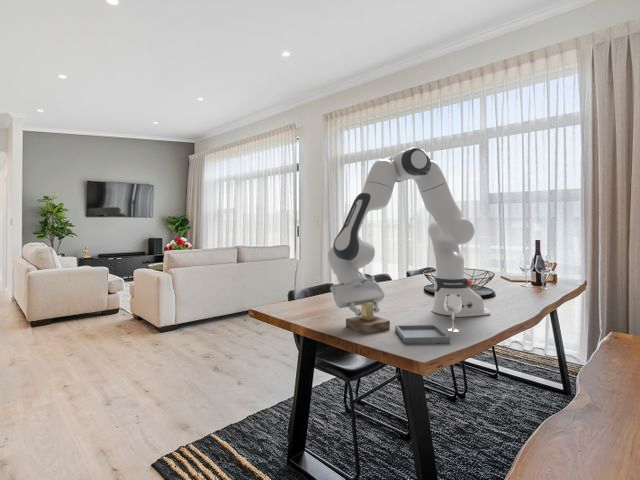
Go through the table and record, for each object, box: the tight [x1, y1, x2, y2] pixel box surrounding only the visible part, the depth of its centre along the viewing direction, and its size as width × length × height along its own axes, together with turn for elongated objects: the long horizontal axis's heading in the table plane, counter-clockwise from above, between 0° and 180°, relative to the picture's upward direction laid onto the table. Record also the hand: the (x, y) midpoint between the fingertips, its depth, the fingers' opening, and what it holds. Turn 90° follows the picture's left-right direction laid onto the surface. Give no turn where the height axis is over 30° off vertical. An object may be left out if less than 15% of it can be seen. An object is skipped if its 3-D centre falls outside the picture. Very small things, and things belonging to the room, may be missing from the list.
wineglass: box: [444, 294, 462, 333], centre depth 130 cm, size 6×6×12 cm
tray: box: [394, 324, 451, 345], centre depth 123 cm, size 14×14×2 cm
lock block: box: [345, 315, 391, 335], centre depth 134 cm, size 11×11×3 cm
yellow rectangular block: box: [360, 302, 374, 322], centre depth 134 cm, size 3×3×9 cm
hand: (368, 313), depth 133 cm, fingers open, 7 cm apart
